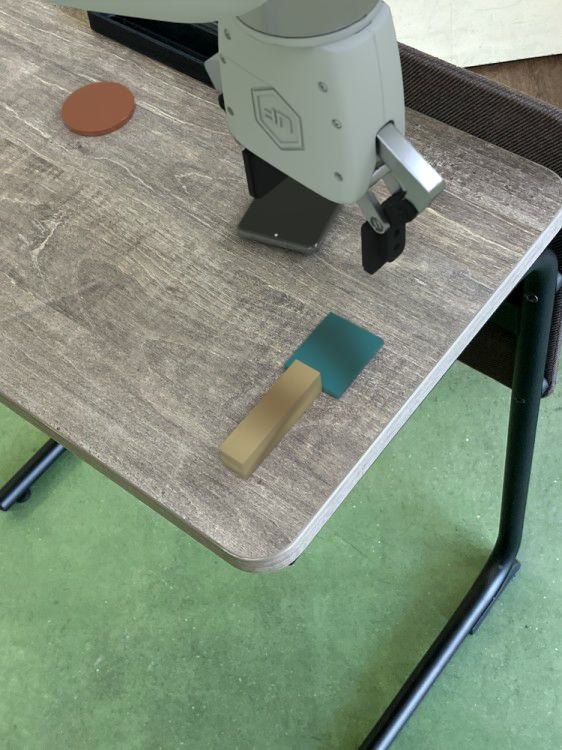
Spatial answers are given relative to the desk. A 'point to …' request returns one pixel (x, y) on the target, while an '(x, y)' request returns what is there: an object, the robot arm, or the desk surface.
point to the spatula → (300, 389)
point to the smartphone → (289, 217)
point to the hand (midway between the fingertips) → (325, 221)
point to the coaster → (98, 108)
